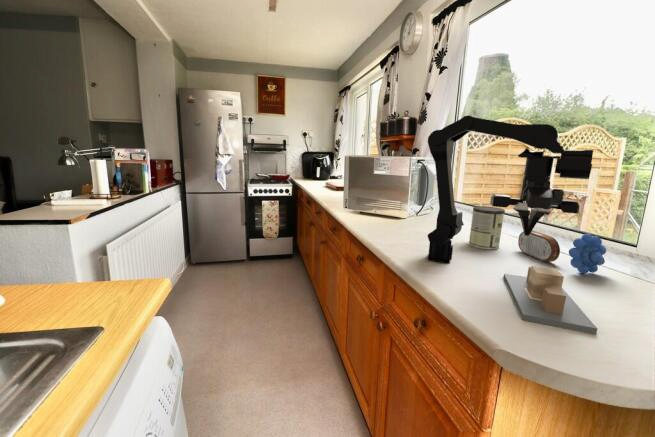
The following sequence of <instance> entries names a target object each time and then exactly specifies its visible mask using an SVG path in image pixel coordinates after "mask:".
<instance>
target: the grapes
mask: <svg viewBox="0 0 655 437" xmlns="http://www.w3.org/2000/svg"><path fill="white" fill-rule="evenodd" d="M572 244H573V247H571V248H570V249H568V254H569V257H571V259H570V262H569V263H570V265H571V266H572V267H573V268H574V269H577V271H578V272H579V273H580V274H588V273H591V274H592V273H593V274H594V273H596V272H598V269H599V267H598V266H603V265H604V264H605V262H606V260H605V258H604V256H603V255H606V254H607V248H606V247H605V245H603V242H602V239H601V237H599V236H596V235H594V236H593V235H592V234H590V233H584V234H582V235H581V238H579V237H576V238H575V239H573V242H572Z"/></svg>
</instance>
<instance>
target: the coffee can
mask: <svg viewBox="0 0 655 437" xmlns="http://www.w3.org/2000/svg"><path fill="white" fill-rule="evenodd" d="M472 208H473V209H472V210H473V211H472V217H471V223H470V225H471V227H470V232H469V240H468V245H469V246H471V247H474V248H476V249H480V250H481V249H483V250H492V251H493V250H499V248H500V241H501V235H502V229H503V222H504V216H505V212H506V210H505V209H504V208H502V207H494V206H485V205H482V206H479V205H478V206H473V207H472Z"/></svg>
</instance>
